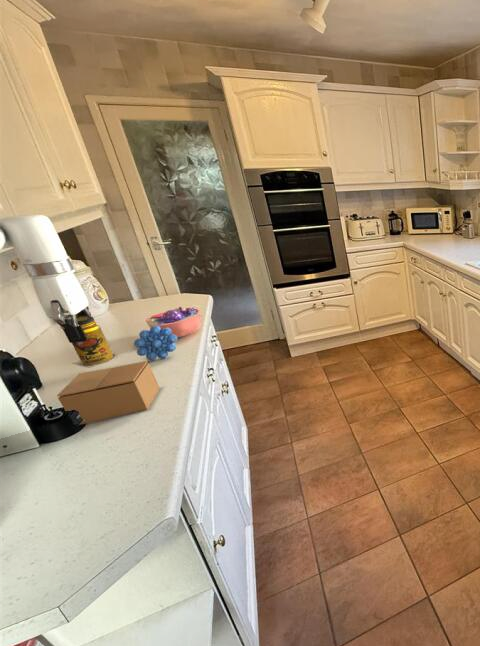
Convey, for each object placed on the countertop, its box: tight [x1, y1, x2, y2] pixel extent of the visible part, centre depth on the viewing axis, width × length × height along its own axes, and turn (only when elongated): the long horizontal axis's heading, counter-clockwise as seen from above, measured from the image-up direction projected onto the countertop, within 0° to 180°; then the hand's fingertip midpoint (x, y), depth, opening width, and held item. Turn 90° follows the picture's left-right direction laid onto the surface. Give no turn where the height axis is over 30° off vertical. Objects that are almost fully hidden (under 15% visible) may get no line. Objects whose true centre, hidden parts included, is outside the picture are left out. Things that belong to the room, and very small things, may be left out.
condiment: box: [68, 316, 123, 369], centre depth 103 cm, size 7×8×12 cm
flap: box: [57, 366, 115, 397], centre depth 105 cm, size 7×13×1 cm, turn 28°
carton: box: [57, 360, 160, 426], centre depth 108 cm, size 15×13×9 cm
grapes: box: [133, 326, 178, 361], centre depth 136 cm, size 12×7×12 cm, turn 125°
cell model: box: [145, 306, 202, 339], centre depth 155 cm, size 17×20×11 cm
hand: (84, 336), depth 102 cm, fingers closed on condiment, 6 cm apart
